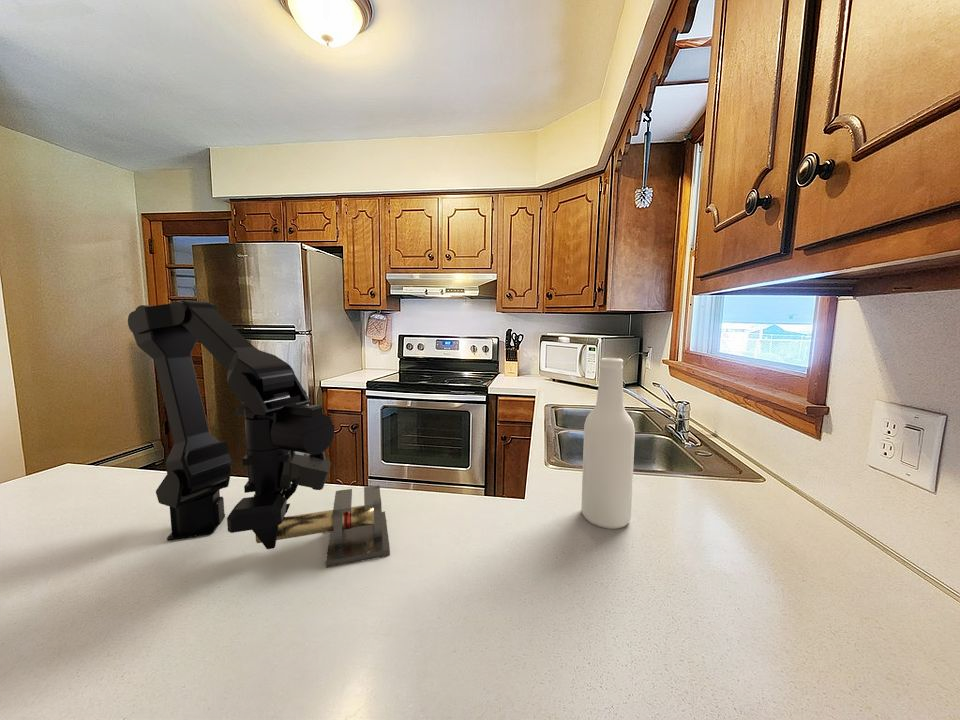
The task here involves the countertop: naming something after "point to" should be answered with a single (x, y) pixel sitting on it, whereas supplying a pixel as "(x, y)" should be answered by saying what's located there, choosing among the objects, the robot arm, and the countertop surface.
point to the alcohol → (608, 453)
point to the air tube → (322, 522)
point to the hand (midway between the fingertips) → (273, 541)
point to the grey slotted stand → (357, 531)
